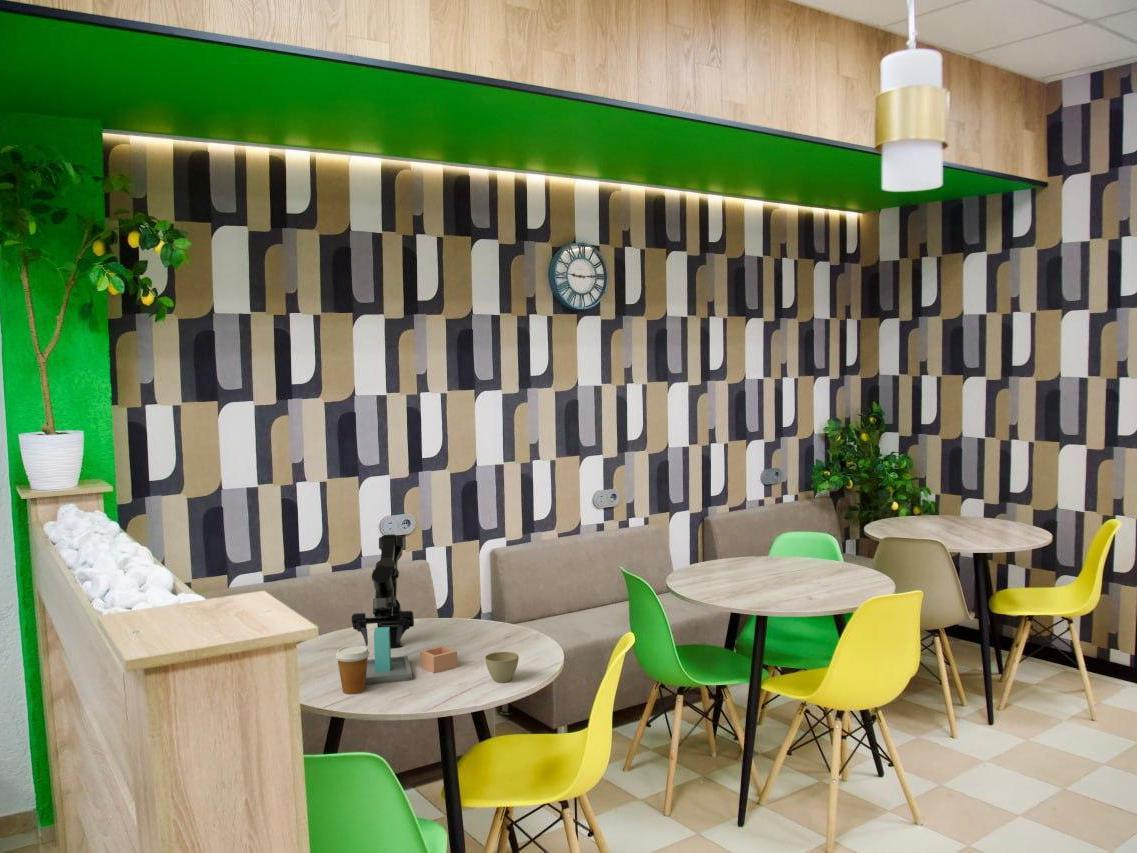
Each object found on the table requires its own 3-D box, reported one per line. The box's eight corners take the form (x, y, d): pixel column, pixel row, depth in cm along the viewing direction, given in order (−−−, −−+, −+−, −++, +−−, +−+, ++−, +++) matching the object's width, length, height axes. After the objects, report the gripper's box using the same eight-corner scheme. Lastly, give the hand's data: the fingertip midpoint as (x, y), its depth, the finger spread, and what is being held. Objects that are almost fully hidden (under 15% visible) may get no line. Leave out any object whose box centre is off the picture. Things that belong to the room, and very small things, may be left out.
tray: (356, 667, 287) (355, 660, 287) (407, 662, 290) (407, 655, 290) (357, 685, 269) (356, 679, 269) (412, 680, 273) (411, 673, 273)
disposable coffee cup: (362, 697, 259) (360, 655, 259) (331, 695, 261) (329, 654, 261) (375, 685, 269) (374, 645, 268) (345, 684, 271) (344, 644, 270)
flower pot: (526, 677, 273) (525, 654, 272) (505, 687, 265) (504, 663, 264) (499, 672, 278) (499, 649, 278) (478, 681, 270) (478, 658, 270)
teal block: (376, 667, 283) (375, 627, 282) (391, 666, 283) (389, 626, 282) (375, 672, 278) (373, 631, 278) (389, 671, 279) (388, 630, 278)
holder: (420, 666, 286) (419, 651, 285) (443, 661, 291) (442, 645, 291) (433, 673, 279) (433, 657, 279) (457, 667, 284) (456, 651, 284)
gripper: (351, 587, 283) (347, 633, 272) (412, 585, 284) (410, 629, 274) (355, 606, 291) (352, 651, 280) (414, 603, 293) (413, 647, 282)
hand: (381, 644), depth 279 cm, fingers open, 9 cm apart
